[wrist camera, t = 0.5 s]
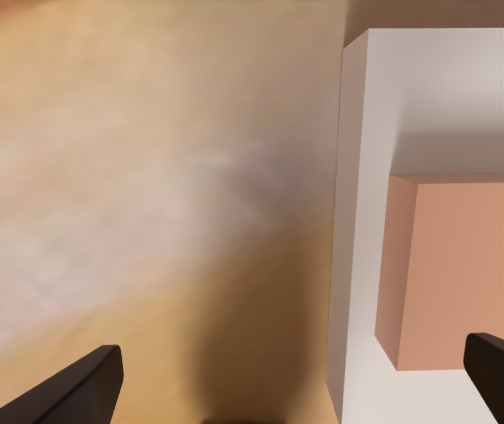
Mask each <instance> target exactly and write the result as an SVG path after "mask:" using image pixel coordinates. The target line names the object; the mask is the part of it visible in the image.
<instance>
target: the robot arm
mask: <svg viewBox="0 0 504 424" xmlns="http://www.w3.org/2000/svg"><path fill="white" fill-rule="evenodd" d="M463 365H464V368H465V371H466V372H467V374H468V376H469V377H470V379H471V381H472V382H473V384H474V386H475V387H476V389H477V390H478V392H479V394H480V395H481V397H482V399H483V400H484V402H485V404H486V405H487V407H488V409H489V410H490V412H491V413H492V415H493V417H494V418H495V420H496V421H497V423H498V424H504V339H501V338H499V337H496V336H494V335H491V334H488V333H484V332H480V333H470V334H468V335H467V337H466V342H465V350H464V357H463ZM123 377H124V371H123V363H122V355H121V349H120V346H119V345H102V346H100V347H99V348H97V349H95V350H94V351H92V352H90V353H89V354H87V355H86V356H84V357H82V358H81V359H79V360H77V361H76V362H74V363H73V364H71V365H69V366H68V367H66V368H65V369H63V370H61V371H60V372H58V373H56V374H55V375H53V376H52V377H50V378H48V379H47V380H45V381H43V382H42V383H40V384H39V385H37V386H35V387H34V388H32V389H30V390H29V391H27V392H26V393H24V394H22V395H21V396H19V397H18V398H16V399H14V400H13V401H11V402H9V403H8V404H6V405H5V406H3V407H1V408H0V424H110V422H111V419H112V416H113V412H114V409H115V406H116V403H117V399H118V396H119V393H120V390H121V386H122V383H123Z"/></svg>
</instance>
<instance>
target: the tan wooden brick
mask: <svg viewBox="0 0 504 424" xmlns="http://www.w3.org/2000/svg"><path fill="white" fill-rule="evenodd" d="M480 332H484V333H488V334H491V335H494V336H496V337H499V338H501V339H504V173H471V174H397V175H389V181H388V192H387V203H386V214H385V225H384V235H383V246H382V257H381V268H380V279H379V290H378V301H377V312H376V323H375V334H374V336H375V337H376V339H377V340H378V342H379V344H380V345H381V347H382V348H383V350H384V352H385V353H386V355H387V356H388V358H389V360H390V361H391V363H392V364H393V366H394V368H395V369H396V371H421V370H460V369H465V368H464V365H463V357H464V350H465V342H466V337H467V335H468V334H470V333H480Z"/></svg>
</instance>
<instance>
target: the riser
mask: <svg viewBox="0 0 504 424" xmlns="http://www.w3.org/2000/svg"><path fill="white" fill-rule="evenodd" d="M471 173H504V28H369V29H368V30H366V31H365V32H364V33H363V34H361V35H360V36H359V37H358V38H356V39H355V40H354V41H353V42H351V43H350V44H349V45H348V46H346V47H345V48H344V49H343V54H342V73H341V92H340V111H339V130H338V150H337V169H336V188H335V207H334V226H333V245H332V264H331V283H330V302H329V321H328V341H327V360H326V379H325V382H326V385H327V388H328V391H329V394H330V397H331V400H332V403H333V407H334V410H335V413H336V416H337V419H338V422H339V424H498V423H497V421H496V420H495V418H494V417H493V415H492V413H491V412H490V410H489V409H488V407H487V405H486V404H485V402H484V400H483V399H482V397H481V395H480V394H479V392H478V390H477V389H476V387H475V386H474V384H473V382H472V381H471V379H470V377H469V376H468V374H467V372H466V371H465V369H460V370H421V371H396V369H395V368H394V366H393V364H392V363H391V361H390V360H389V358H388V356H387V355H386V353H385V352H384V350H383V348H382V347H381V345H380V344H379V342H378V340H377V339H376V337H375V336H374V334H375V323H376V312H377V301H378V290H379V279H380V268H381V257H382V246H383V235H384V225H385V214H386V203H387V192H388V181H389V175H397V174H471Z"/></svg>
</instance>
